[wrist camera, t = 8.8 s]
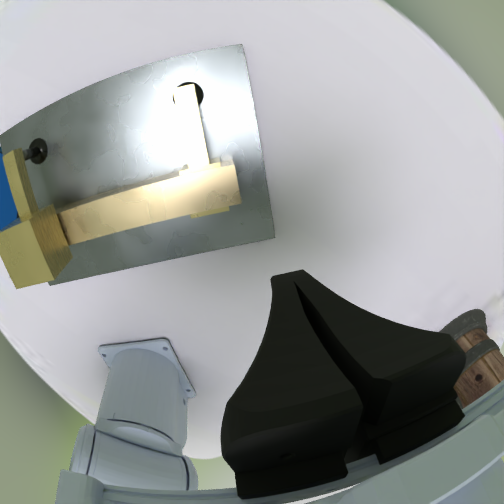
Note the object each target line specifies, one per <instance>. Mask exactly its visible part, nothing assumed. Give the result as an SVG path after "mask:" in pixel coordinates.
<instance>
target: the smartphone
mask: <svg viewBox="0 0 504 504" xmlns="http://www.w3.org/2000/svg"><path fill="white" fill-rule="evenodd" d="M2 157H3V154H2V149H1V147H0V230H1V229H3V228H4V227H5V226H7V225H8V224H10V223H11V222H13V221H14V220H15V219H17V218H20V217H19V214H18V211H17V208H16V205H15V202H14V199H13V196H12V193H11V189H10V186H9V182H8V178H7V175H6V171H5V167H4V162H3V158H2Z"/></svg>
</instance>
